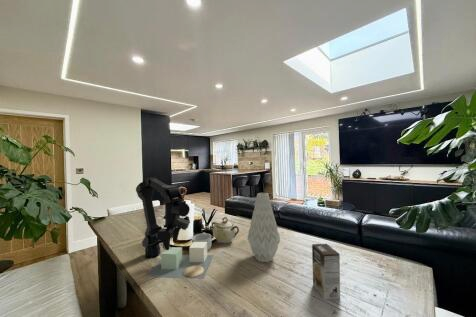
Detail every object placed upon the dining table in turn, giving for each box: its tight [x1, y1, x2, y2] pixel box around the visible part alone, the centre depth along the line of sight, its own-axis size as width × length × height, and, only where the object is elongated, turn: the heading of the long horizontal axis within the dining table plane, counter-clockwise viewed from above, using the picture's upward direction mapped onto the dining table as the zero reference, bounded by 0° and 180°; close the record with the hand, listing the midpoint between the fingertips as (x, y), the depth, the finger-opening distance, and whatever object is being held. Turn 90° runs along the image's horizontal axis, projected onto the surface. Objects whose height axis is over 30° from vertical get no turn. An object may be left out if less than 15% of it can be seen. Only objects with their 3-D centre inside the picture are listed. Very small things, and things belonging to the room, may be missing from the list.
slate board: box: [144, 254, 215, 280], centre depth 96 cm, size 26×21×1 cm
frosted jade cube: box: [160, 246, 183, 270], centre depth 96 cm, size 7×7×7 cm
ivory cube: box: [188, 242, 208, 262], centre depth 102 cm, size 7×7×7 cm
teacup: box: [191, 232, 212, 252], centre depth 114 cm, size 14×11×8 cm
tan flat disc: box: [183, 266, 204, 277], centre depth 90 cm, size 9×9×1 cm
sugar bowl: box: [211, 216, 240, 244], centre depth 125 cm, size 20×15×15 cm
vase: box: [246, 192, 281, 263], centre depth 103 cm, size 17×17×33 cm
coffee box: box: [311, 243, 341, 300], centre depth 76 cm, size 9×6×16 cm
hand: (171, 245), depth 96 cm, fingers open, 9 cm apart
